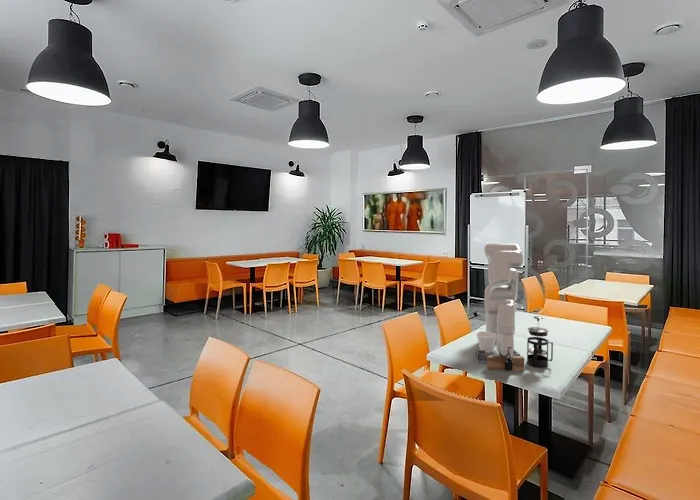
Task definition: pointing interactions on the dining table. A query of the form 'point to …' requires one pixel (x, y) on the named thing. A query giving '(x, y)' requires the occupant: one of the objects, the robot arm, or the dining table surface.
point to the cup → (486, 341)
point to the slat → (499, 363)
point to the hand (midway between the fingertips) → (505, 366)
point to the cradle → (482, 357)
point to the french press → (538, 347)
